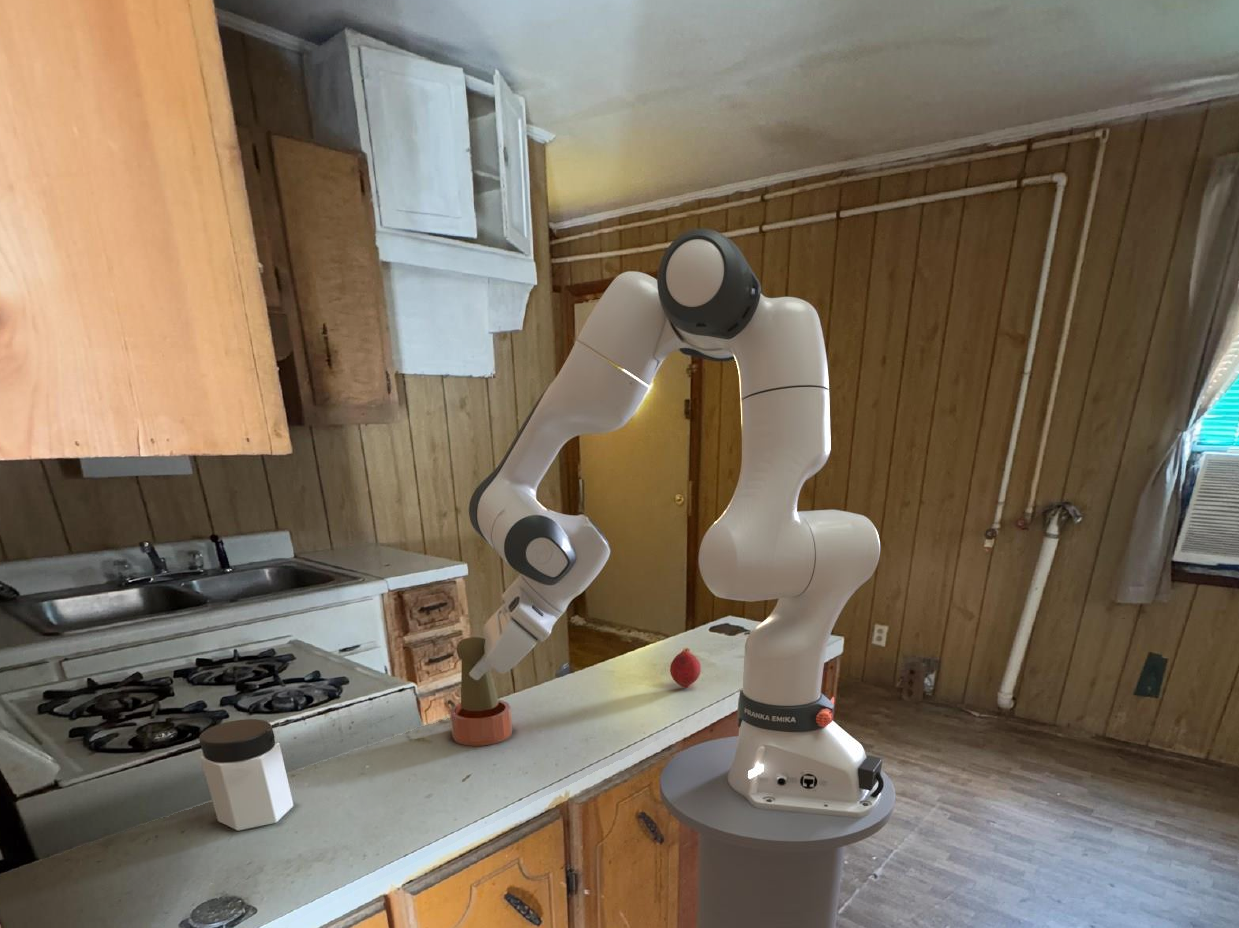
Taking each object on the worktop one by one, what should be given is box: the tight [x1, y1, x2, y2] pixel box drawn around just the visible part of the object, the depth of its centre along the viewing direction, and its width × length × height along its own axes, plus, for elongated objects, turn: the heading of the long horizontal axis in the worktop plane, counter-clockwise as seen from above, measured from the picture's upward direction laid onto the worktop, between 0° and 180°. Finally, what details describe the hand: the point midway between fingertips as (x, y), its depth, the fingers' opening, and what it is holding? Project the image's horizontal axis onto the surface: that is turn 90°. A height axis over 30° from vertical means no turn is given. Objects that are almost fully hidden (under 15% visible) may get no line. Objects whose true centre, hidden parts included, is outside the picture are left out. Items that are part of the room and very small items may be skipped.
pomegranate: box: [669, 646, 702, 689], centre depth 141 cm, size 6×6×8 cm
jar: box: [198, 718, 294, 832], centre depth 95 cm, size 9×8×12 cm
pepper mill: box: [456, 636, 499, 711], centre depth 118 cm, size 6×6×11 cm
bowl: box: [448, 699, 513, 747], centre depth 121 cm, size 10×10×4 cm
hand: (472, 671), depth 118 cm, fingers closed on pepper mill, 4 cm apart
